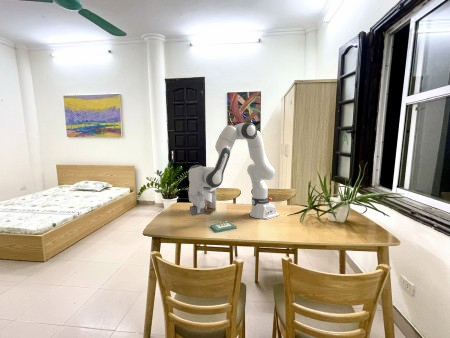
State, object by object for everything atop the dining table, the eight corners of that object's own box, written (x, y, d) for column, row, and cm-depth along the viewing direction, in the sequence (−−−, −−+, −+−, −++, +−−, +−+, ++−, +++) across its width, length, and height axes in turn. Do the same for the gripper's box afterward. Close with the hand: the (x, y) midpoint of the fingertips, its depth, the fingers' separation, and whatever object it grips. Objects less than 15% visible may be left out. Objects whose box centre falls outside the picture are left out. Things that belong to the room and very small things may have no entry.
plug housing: (201, 211, 150) (201, 204, 149) (204, 213, 146) (203, 206, 146) (189, 213, 146) (189, 206, 146) (192, 215, 143) (191, 208, 142)
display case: (197, 213, 176) (196, 168, 171) (203, 209, 185) (202, 166, 181) (210, 214, 172) (210, 169, 167) (216, 210, 181) (215, 167, 177)
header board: (229, 223, 154) (229, 221, 154) (236, 228, 145) (236, 226, 145) (210, 227, 148) (210, 224, 147) (216, 232, 139) (216, 230, 139)
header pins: (226, 224, 148) (226, 220, 147) (226, 225, 147) (226, 220, 146) (219, 225, 145) (219, 221, 145) (220, 226, 145) (220, 221, 144)
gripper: (207, 193, 137) (207, 215, 139) (195, 187, 155) (196, 206, 157) (197, 194, 134) (198, 217, 136) (186, 188, 152) (187, 208, 154)
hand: (196, 211), depth 146 cm, fingers closed on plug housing, 4 cm apart
